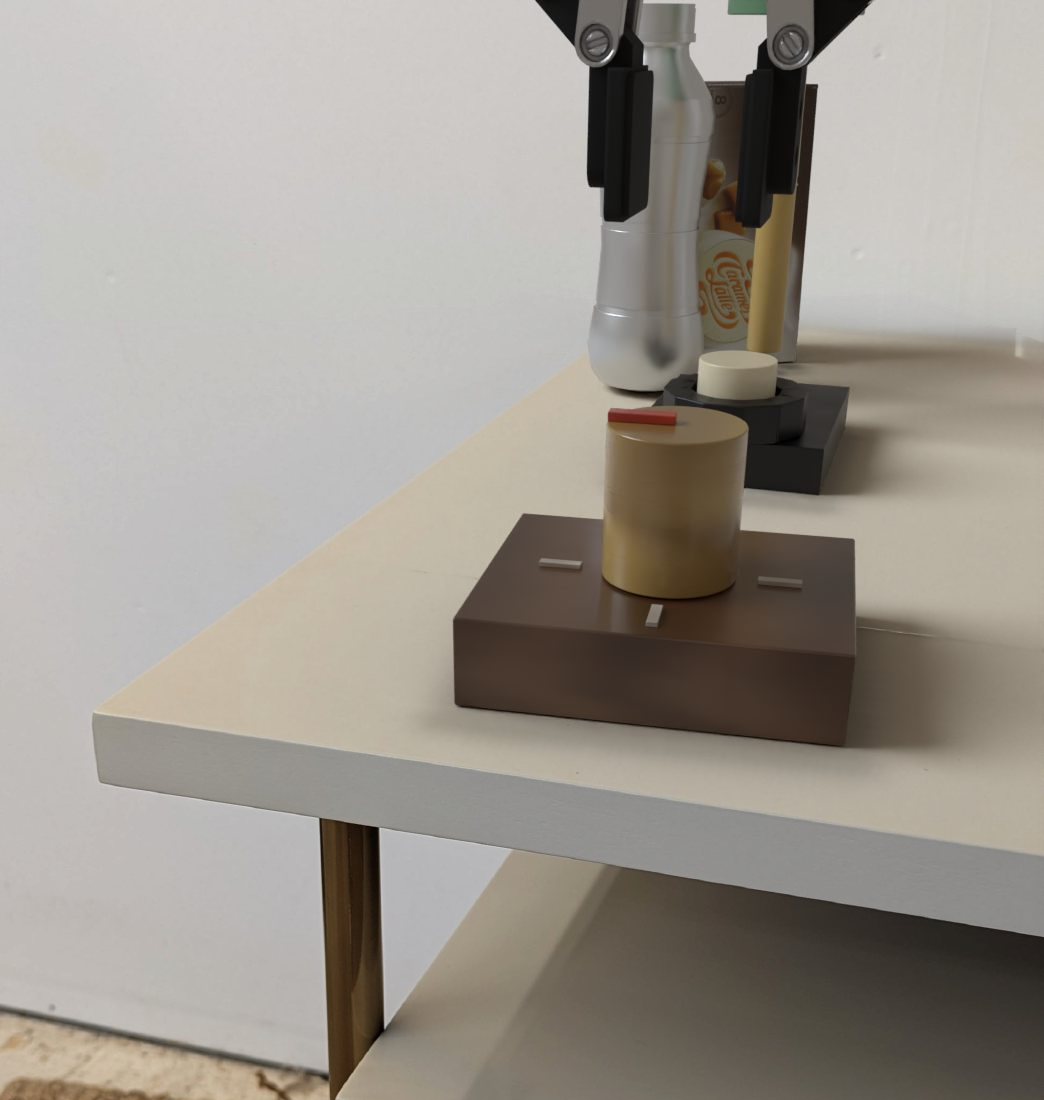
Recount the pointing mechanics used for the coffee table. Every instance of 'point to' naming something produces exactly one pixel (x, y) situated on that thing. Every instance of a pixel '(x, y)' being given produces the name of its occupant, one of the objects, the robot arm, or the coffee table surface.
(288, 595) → the coffee table surface
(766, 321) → the lamp
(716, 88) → the coffee box
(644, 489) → the dimmer knob
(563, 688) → the dimmer panel
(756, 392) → the button
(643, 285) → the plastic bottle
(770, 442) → the black button base
